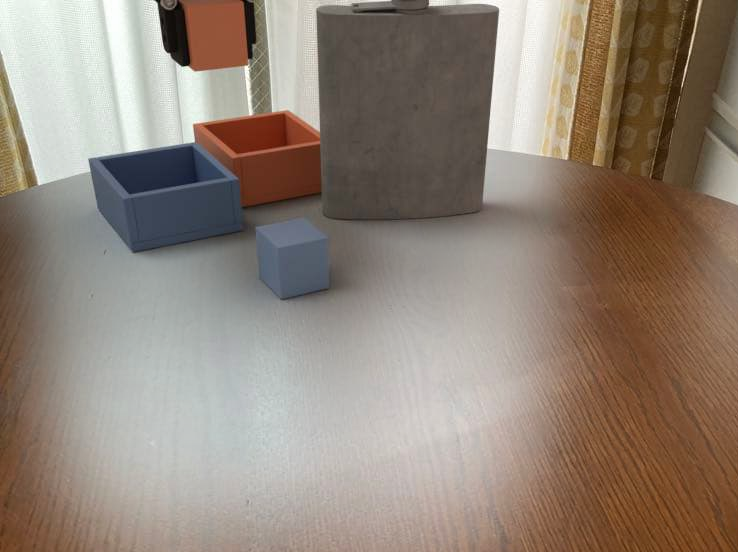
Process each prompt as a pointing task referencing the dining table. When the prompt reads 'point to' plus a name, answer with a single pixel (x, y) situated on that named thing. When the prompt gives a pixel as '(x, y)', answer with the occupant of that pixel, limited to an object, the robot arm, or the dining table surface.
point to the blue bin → (166, 195)
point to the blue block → (292, 257)
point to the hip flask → (404, 107)
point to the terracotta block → (215, 33)
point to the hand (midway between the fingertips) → (211, 55)
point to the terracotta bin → (266, 154)
